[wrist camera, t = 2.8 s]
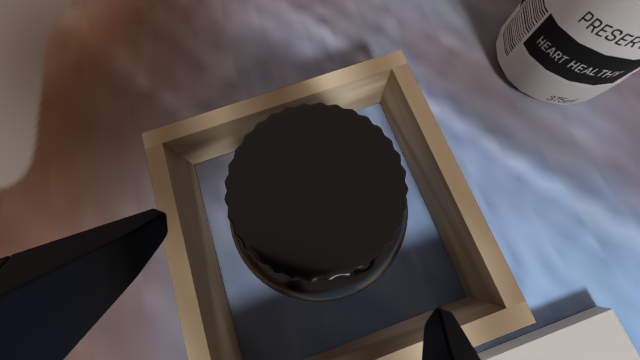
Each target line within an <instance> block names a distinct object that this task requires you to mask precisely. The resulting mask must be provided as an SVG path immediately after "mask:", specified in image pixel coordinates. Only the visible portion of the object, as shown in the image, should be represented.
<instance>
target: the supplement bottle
mask: <svg viewBox="0 0 640 360" xmlns="http://www.w3.org/2000/svg"><path fill="white" fill-rule="evenodd" d="M405 176H406V171H405V169H404V168H403V167H402V165H401V157H400V154H399V153H398V152H397V151H395V149H394V147H393V143H392V140H390V139H389V138H388V137H386V136H385V135H384V133H383V131H382V129H381V128H380V127H379V126H377V125H374V124H372V122H371V121H370V119H369V118H368V117H366V116H362V115H359V114H357V113H356V111H354V110H353V109H344V108H342V107H340V106H339V105H337V104H333V105H326V104H324V103H320V102H319V103H315V104H312V105H310V104H305V103H302V104H300V105H298V106H296V107H286V108H285V109H283V110H282V111H281V112H279V113H273V114H271V115H270V116H269V117H268V118H267V119H266V120H264V121H261V122H259V123H257V124H256V126H255V128H254V129H253V131H251V132H250V133H248V134H246V135H245V137H244V139H243V143H242V144H241V145H240V146H238V147H237V148H236V149H235V155H234V159H233V160H232V161H231V162H230V164H229V174H228V176H227V178H226V180H225V186H226V189H227V192H226V195H225V199H224V200H225V202H226V204H227V206H228V219H229V220H230V228H231V232H232V237H233V240H234V243H235V246H236V248H237V250H238V252H239V254H240V256H241V258H242V259H243V261H244V263H245V264H246V265H247V267H248V268H249V269H250V270H251V271H252V273H253V274H254V275H255V276H256V277H257V278H258V279H260V280H261V281H262V282H263V283H264V284H266V285H267V286H269V287H270V288H272V289H273V290H275V291H277V292H279V293H281V294H283V295H286V296H288V297H291V298H295V299H299V300H304V301H312V302H325V301H333V300H338V299H342V298H345V297H348V296H351V295H353V294H356V293H358V292H360V291H362V290H363V289H365V288H367V287H368V286H370V285H371V284H372V283H374V282H375V281H376V280H377V279H378V278H380V277H381V276H382V275H383V274H384V272H385V271H386V270H387V269H388V268H389V266H390V265H391V264H392V262H393V261H394V259H395V257H396V256H397V254H398V252H399V250H400V248H401V245H402V242H403V239H404V236H405V232H406V228H407V220H408V206H407V197H406V194H407V192H408V187H407V184H406V183H405Z"/></svg>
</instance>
